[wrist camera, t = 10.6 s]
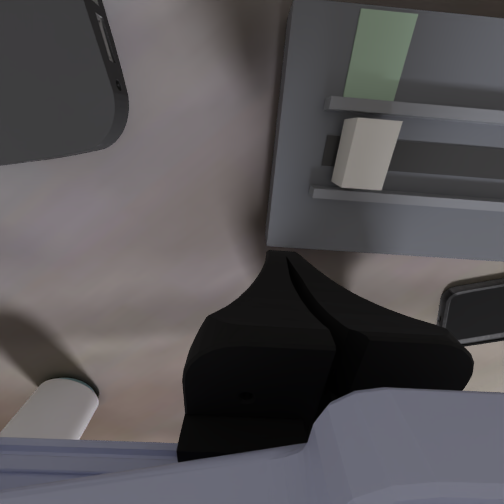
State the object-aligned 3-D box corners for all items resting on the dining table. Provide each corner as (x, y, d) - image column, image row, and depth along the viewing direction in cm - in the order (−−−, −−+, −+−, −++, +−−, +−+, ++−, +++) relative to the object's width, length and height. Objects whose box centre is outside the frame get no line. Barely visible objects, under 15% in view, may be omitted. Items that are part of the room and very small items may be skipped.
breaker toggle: (366, 183, 16) (381, 190, 14) (331, 181, 16) (341, 187, 14) (383, 122, 14) (402, 121, 13) (344, 119, 14) (357, 117, 12)
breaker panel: (510, 250, 21) (557, 271, 18) (265, 233, 21) (267, 253, 17) (632, 52, 15) (737, 29, 12) (287, 18, 14) (298, -17, 11)
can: (38, 369, 28) (-93, 514, 17) (100, 378, 29) (11, 522, 18) (46, 404, 31) (-61, 547, 21) (102, 412, 32) (27, 553, 21)
